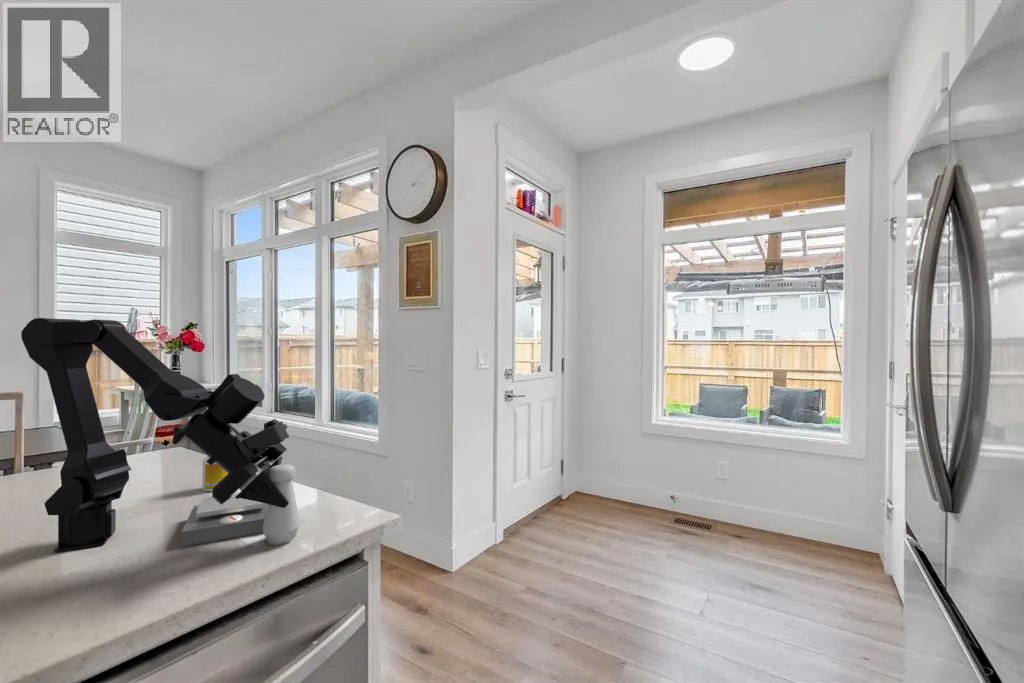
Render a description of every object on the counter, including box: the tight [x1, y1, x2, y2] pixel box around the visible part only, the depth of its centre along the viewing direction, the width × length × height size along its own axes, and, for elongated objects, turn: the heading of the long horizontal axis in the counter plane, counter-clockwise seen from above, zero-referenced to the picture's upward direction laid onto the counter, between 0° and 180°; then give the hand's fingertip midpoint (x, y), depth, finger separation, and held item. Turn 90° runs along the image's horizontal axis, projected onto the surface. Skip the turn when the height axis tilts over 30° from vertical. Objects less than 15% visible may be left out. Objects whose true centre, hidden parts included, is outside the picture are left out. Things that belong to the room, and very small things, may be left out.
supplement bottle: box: [202, 455, 228, 492], centre depth 108 cm, size 5×5×10 cm
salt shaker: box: [262, 463, 301, 546], centre depth 80 cm, size 6×6×13 cm
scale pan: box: [196, 492, 266, 518], centre depth 88 cm, size 11×9×1 cm
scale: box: [181, 504, 268, 547], centre depth 87 cm, size 14×14×3 cm
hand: (289, 501), depth 80 cm, fingers closed on salt shaker, 3 cm apart
